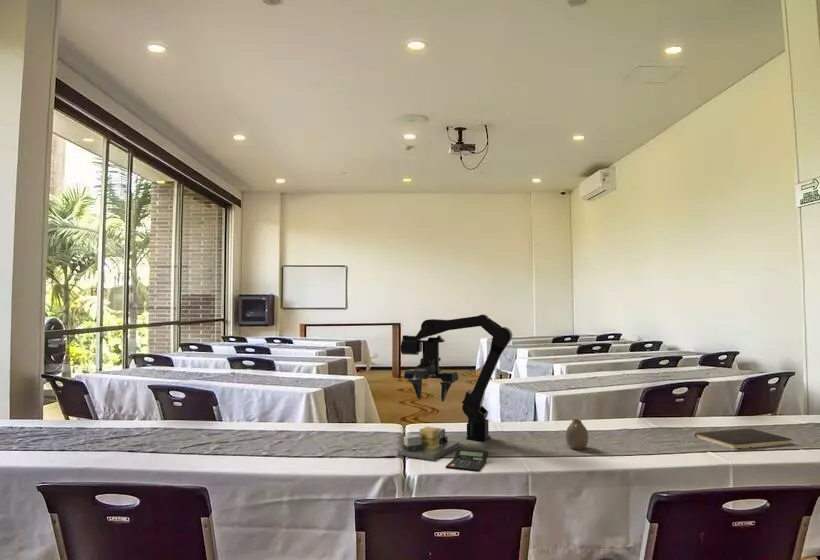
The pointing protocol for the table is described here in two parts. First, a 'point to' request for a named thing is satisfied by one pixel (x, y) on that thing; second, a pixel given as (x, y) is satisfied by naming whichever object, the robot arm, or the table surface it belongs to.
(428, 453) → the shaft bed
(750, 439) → the hardcover book
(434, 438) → the tan cube
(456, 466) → the calculator
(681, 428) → the table surface
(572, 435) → the vase
